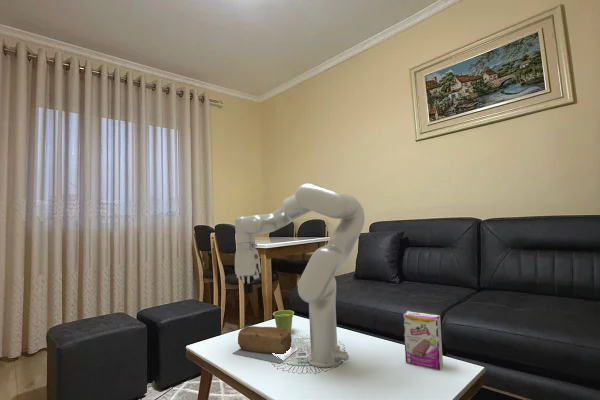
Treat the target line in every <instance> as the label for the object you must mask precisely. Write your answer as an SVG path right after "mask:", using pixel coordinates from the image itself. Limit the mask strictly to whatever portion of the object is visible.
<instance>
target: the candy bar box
mask: <svg viewBox="0 0 600 400" xmlns="http://www.w3.org/2000/svg"><path fill="white" fill-rule="evenodd" d="M402 317H403V319H402V321H403V337H404V354H405V355H404V356H405V357H404V358H405V364H410V365H414V366H418V367H422V368H423V367H424V368H428V369H432V370H437V371H441V369H442V367H443V365H444V358H443V346H442V345H443V342H442V327H441V326H442V324H441V323H442V322H441V316H440V314H439V315H438V314H430V313H424V312H416V311H410V310H407V311H405V312H404V313H403V316H402Z"/></svg>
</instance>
